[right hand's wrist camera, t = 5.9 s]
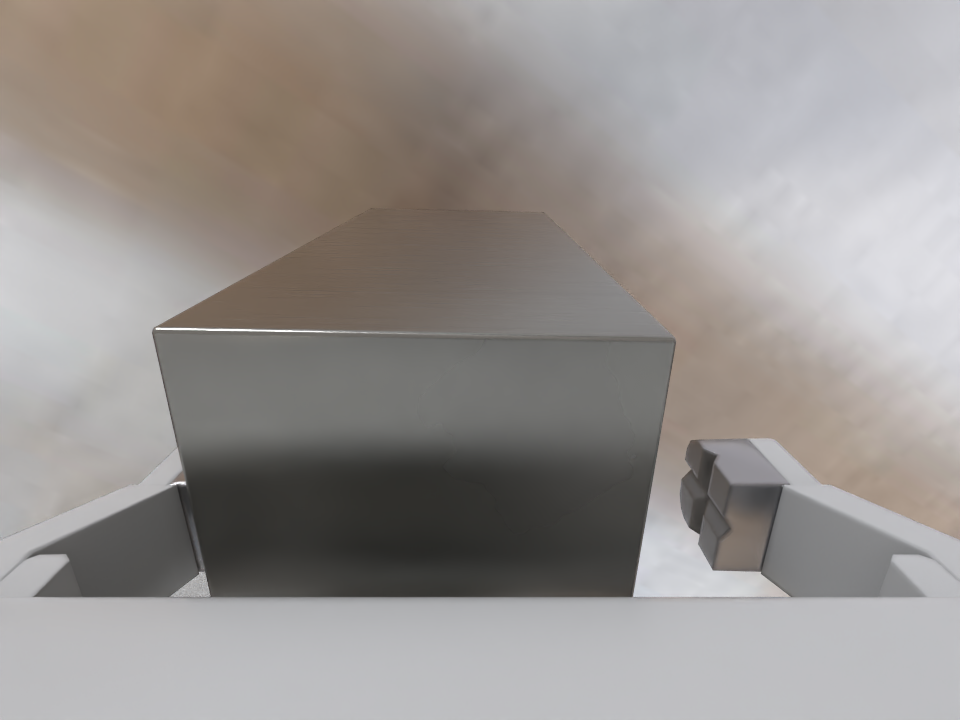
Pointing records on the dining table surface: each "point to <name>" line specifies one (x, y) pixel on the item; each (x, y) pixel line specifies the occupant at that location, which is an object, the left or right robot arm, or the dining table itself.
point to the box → (420, 414)
